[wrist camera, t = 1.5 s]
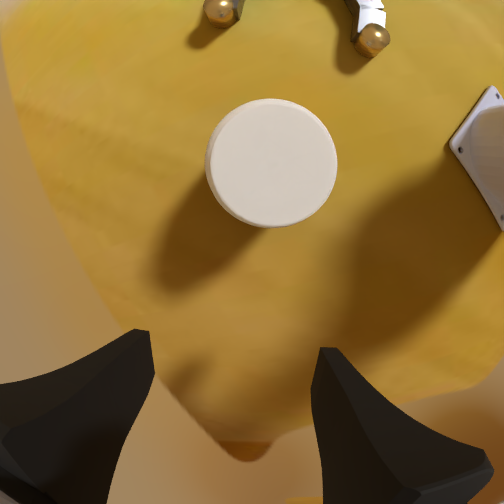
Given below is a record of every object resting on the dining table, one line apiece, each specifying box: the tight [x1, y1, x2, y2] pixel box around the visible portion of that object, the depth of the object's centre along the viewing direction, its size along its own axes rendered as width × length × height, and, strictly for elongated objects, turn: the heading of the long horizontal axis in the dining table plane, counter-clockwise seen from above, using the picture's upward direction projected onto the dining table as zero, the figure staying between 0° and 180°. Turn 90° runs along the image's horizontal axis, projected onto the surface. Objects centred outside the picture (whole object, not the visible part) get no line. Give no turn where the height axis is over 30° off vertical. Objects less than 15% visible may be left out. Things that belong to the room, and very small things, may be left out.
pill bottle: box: [205, 99, 337, 228], centre depth 13 cm, size 6×5×10 cm
